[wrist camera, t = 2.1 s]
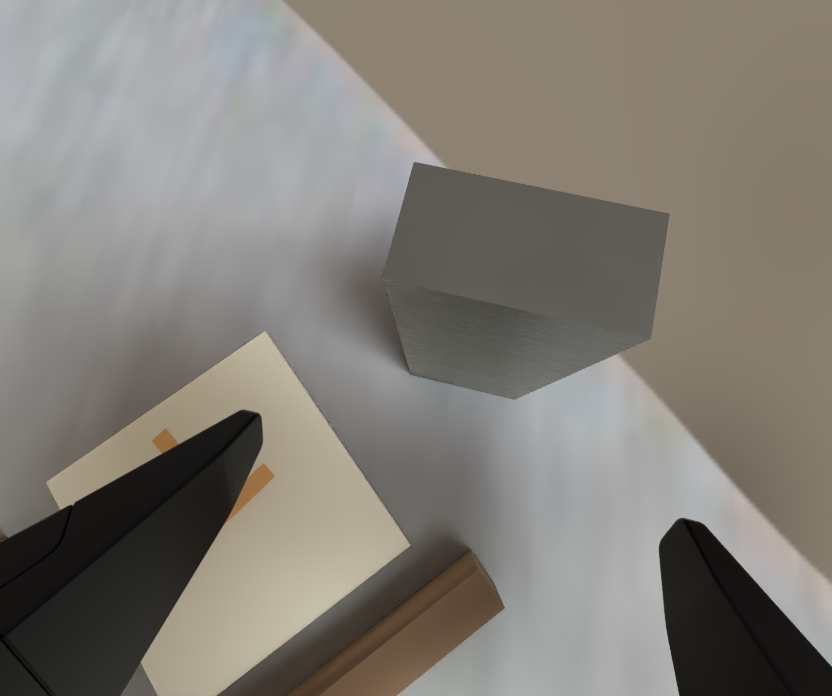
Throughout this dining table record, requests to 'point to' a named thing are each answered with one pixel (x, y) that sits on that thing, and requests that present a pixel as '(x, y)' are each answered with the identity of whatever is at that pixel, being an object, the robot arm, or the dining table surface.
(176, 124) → the dining table surface
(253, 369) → the pad
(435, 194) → the upright grey pillar block
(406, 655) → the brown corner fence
